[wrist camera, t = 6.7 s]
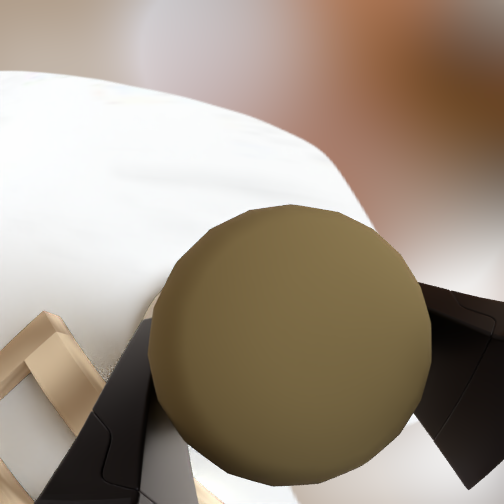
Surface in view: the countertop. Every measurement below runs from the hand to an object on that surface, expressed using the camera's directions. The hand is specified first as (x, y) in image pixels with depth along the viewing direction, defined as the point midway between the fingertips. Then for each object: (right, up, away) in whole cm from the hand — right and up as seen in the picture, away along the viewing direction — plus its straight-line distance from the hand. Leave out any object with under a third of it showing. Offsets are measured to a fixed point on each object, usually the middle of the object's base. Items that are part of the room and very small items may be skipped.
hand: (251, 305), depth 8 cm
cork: (-1, -4, +6) cm, 7 cm away
